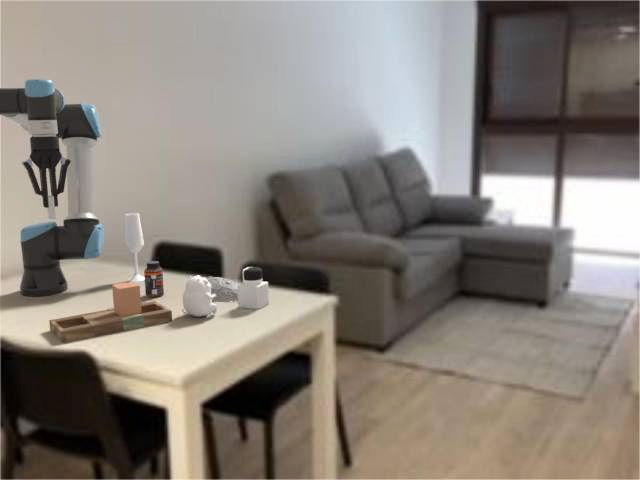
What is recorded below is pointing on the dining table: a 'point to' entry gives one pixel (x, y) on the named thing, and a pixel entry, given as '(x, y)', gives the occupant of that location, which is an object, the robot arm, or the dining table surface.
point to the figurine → (198, 297)
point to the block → (126, 298)
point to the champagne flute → (134, 241)
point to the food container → (223, 289)
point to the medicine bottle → (253, 289)
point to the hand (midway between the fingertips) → (51, 218)
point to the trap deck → (107, 322)
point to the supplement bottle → (153, 279)
